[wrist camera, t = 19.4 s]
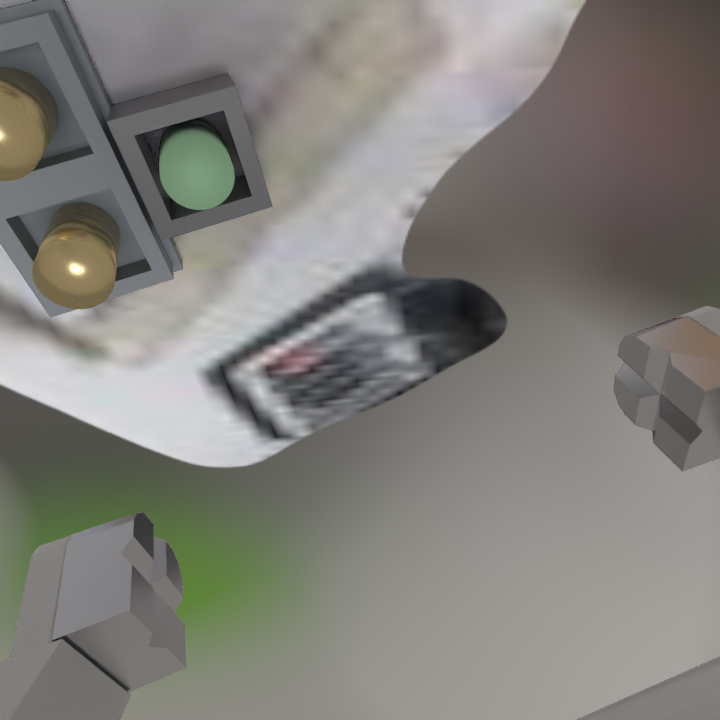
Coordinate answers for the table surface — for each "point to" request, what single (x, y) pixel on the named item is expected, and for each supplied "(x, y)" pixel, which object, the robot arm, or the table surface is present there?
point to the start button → (195, 165)
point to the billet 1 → (24, 122)
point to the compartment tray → (73, 155)
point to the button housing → (175, 108)
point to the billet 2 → (78, 256)
